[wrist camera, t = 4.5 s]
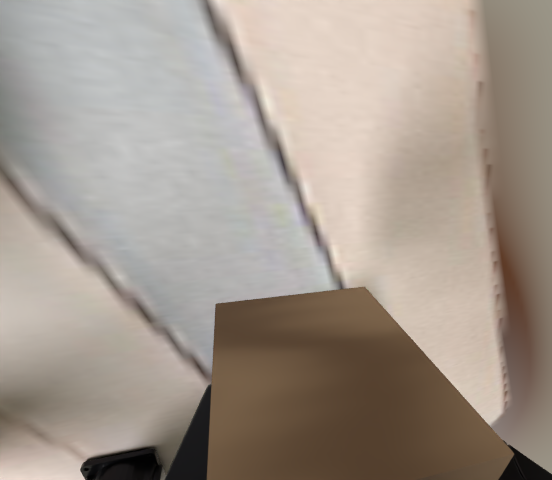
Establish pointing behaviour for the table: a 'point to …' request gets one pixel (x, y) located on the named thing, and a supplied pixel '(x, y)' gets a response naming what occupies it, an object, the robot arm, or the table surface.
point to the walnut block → (336, 397)
